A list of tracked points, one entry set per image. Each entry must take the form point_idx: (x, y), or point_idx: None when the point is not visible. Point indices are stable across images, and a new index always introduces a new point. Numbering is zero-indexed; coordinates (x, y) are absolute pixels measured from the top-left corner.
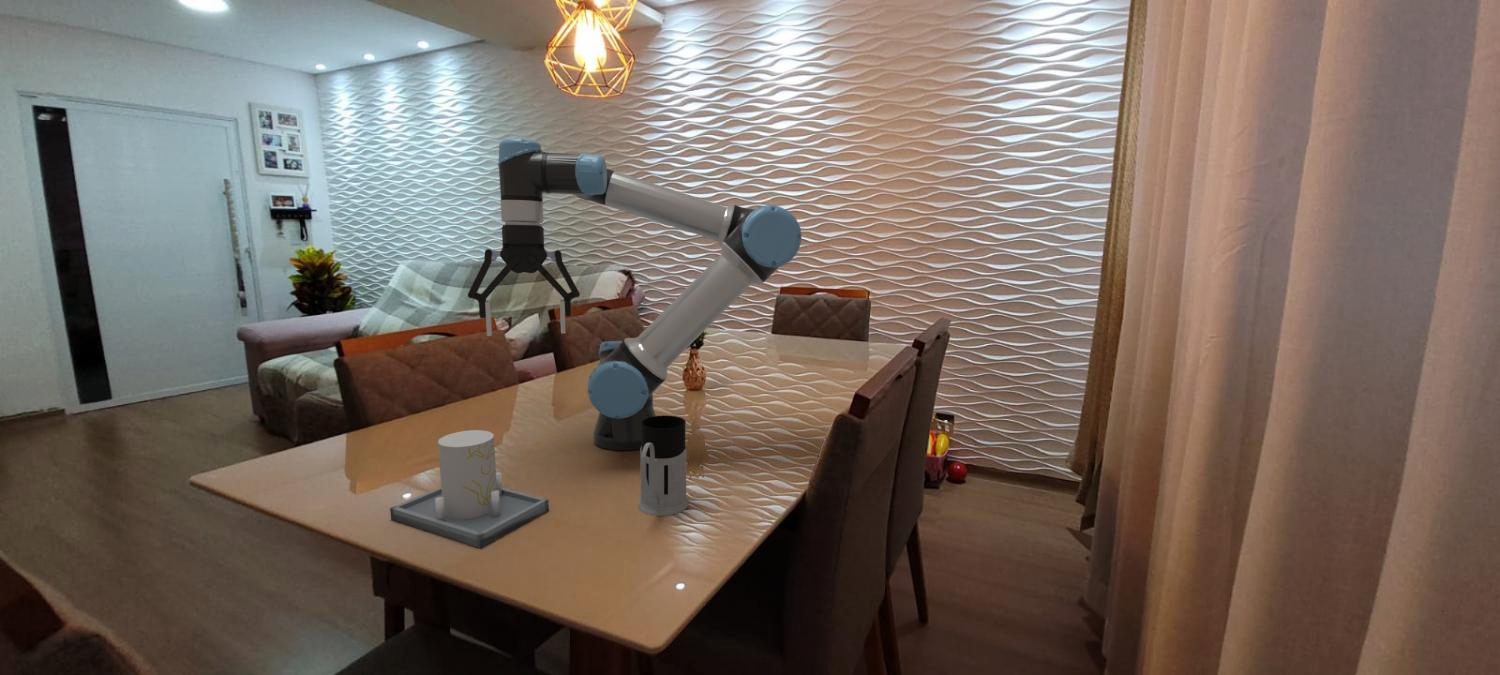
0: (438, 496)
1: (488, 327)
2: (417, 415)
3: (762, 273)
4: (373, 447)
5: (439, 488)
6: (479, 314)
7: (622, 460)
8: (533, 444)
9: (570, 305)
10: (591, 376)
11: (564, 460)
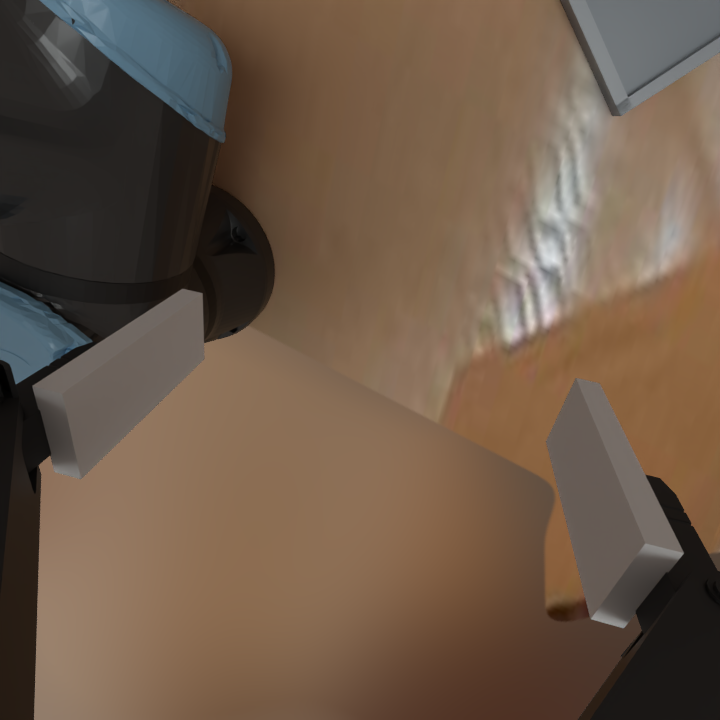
0: (711, 29)
1: (601, 409)
2: (561, 594)
3: None
4: (696, 471)
5: (704, 56)
6: (677, 500)
7: (231, 125)
8: (396, 332)
9: (28, 378)
10: (174, 37)
11: (356, 194)
